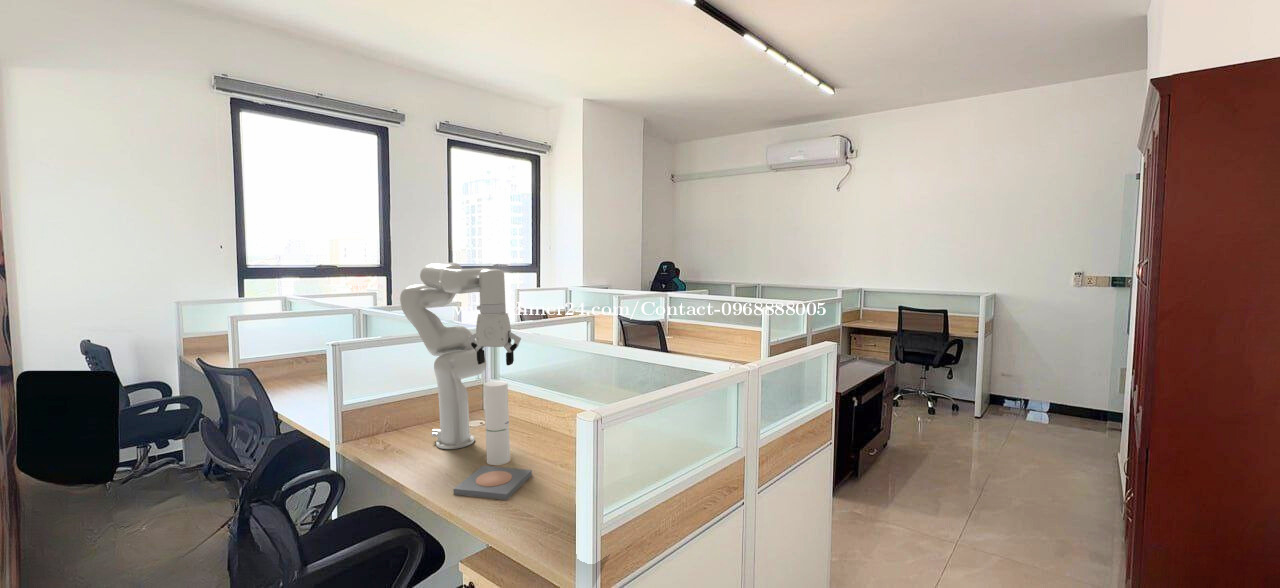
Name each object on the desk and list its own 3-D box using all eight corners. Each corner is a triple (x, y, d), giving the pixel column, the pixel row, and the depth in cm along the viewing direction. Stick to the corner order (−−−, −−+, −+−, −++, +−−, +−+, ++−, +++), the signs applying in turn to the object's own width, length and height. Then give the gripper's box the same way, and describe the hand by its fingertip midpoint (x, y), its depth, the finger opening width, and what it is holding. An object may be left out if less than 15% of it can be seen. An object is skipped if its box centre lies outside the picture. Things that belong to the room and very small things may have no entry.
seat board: (453, 494, 151) (453, 488, 151) (482, 470, 167) (482, 464, 167) (506, 499, 148) (506, 493, 148) (531, 475, 163) (531, 469, 163)
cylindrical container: (514, 457, 177) (511, 381, 174) (501, 466, 170) (499, 387, 167) (495, 455, 179) (492, 379, 177) (482, 463, 172) (479, 385, 170)
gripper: (461, 310, 168) (463, 365, 170) (513, 311, 164) (515, 367, 166) (474, 307, 175) (476, 360, 177) (524, 308, 171) (526, 362, 173)
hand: (495, 364), depth 171 cm, fingers open, 9 cm apart
